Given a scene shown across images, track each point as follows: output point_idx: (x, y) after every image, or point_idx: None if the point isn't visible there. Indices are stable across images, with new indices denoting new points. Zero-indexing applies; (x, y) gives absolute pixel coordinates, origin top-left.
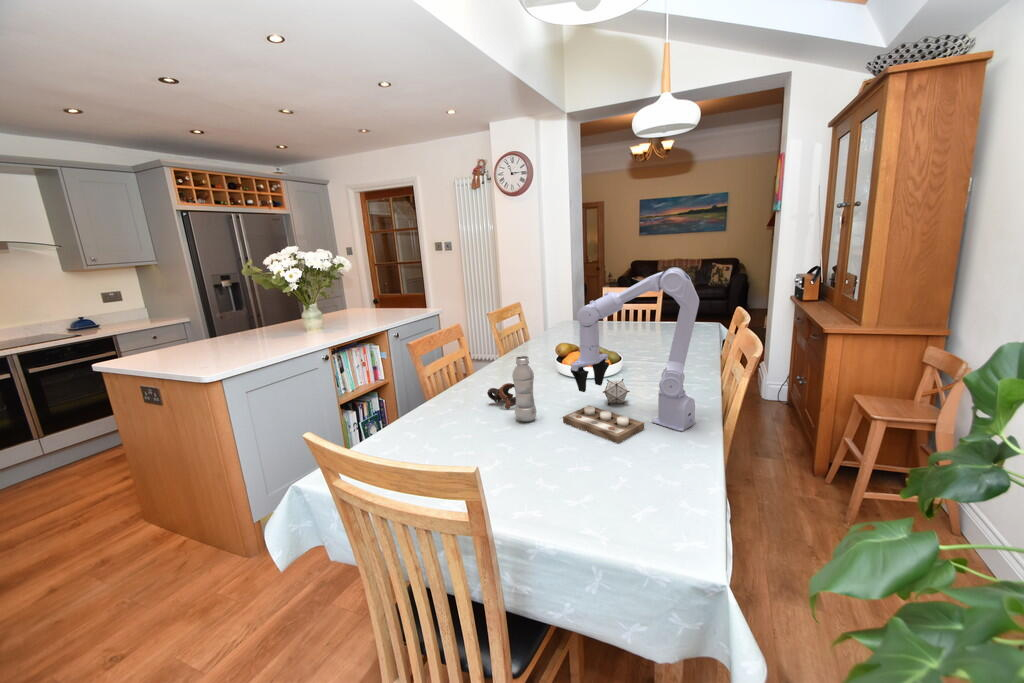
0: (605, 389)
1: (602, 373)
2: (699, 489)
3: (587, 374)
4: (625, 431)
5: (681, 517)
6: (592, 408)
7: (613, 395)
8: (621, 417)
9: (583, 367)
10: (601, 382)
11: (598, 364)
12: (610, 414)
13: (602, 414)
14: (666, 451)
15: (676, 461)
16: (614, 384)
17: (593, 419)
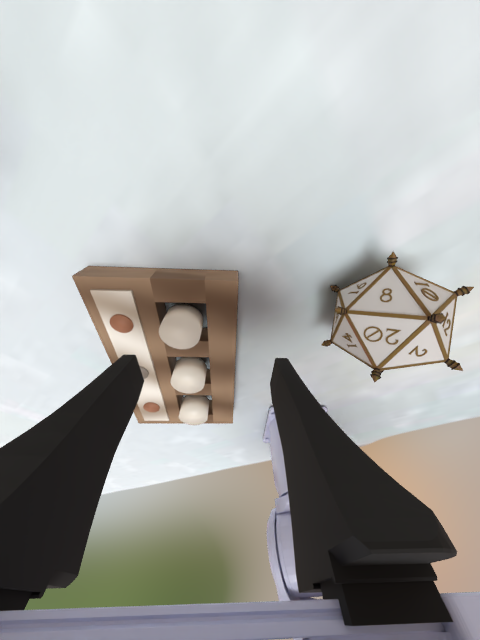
0: (382, 291)
1: (286, 472)
2: (143, 478)
3: (85, 534)
4: (168, 421)
5: None
6: (184, 342)
7: (337, 335)
8: (197, 413)
9: (34, 616)
10: (274, 403)
11: (314, 562)
12: (191, 393)
13: (173, 382)
14: (187, 446)
15: (174, 458)
16: (382, 359)
17: (155, 357)
